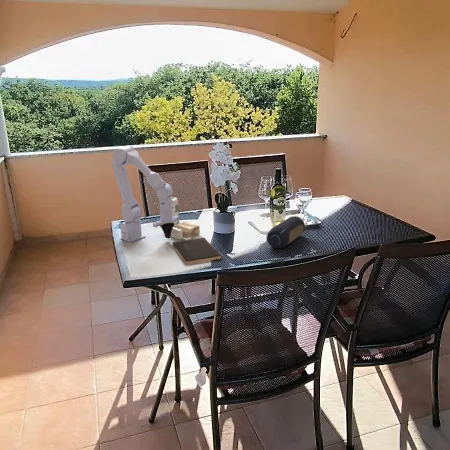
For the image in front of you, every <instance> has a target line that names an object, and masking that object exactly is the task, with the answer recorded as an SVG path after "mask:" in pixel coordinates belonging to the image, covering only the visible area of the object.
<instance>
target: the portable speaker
mask: <svg viewBox="0 0 450 450" xmlns="http://www.w3.org/2000/svg"><path fill="white" fill-rule="evenodd" d="M305 228H306V225H305V222H304V220H303V218H301V217H300V216H297V215H294V216H290V217H288V218H286V219H285V220H283V221H282V222H280V223H278V224H277V225H275V226H274V227H272V228H271V229H270V230H269V231H268V233H267V235H266V241H267V243H268V244H269V246H271V247H272V248H275V249H282V248H285V247H286V246H287V245H289V244H291V243H292V242H293V241H294V240H296V239H298V237H300V236H301V235H303V233H305Z"/></svg>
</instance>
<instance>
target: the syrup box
mask: <svg viewBox="0 0 450 450" xmlns="http://www.w3.org/2000/svg"><path fill="white" fill-rule="evenodd" d="M171 199H172V215H173V216H180V214H179V199H178V197H175V196H174V197H173V196H171ZM172 223H174V227H175V228H177V224H180V220H176V221H173V222H172Z"/></svg>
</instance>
